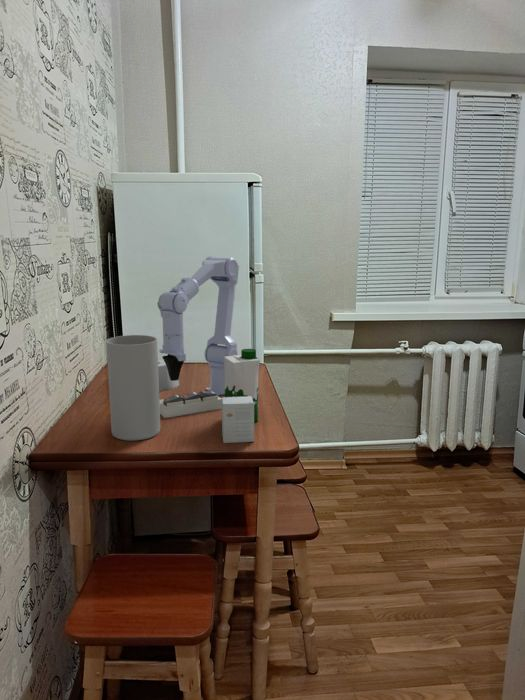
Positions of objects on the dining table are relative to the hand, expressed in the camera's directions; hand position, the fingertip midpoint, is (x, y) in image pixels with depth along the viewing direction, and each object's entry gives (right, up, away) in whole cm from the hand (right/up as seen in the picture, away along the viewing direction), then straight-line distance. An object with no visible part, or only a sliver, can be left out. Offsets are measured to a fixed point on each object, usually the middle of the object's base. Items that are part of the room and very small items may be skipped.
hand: (174, 380), depth 151 cm
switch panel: (+5, -9, +5) cm, 12 cm away
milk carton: (+20, -11, -4) cm, 23 cm away
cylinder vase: (-8, -13, -14) cm, 21 cm away
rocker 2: (+5, -5, +2) cm, 7 cm away
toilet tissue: (-9, -4, +26) cm, 28 cm away
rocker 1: (0, -6, -1) cm, 6 cm away
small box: (+19, -14, -17) cm, 30 cm away
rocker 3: (+9, -5, +5) cm, 11 cm away
